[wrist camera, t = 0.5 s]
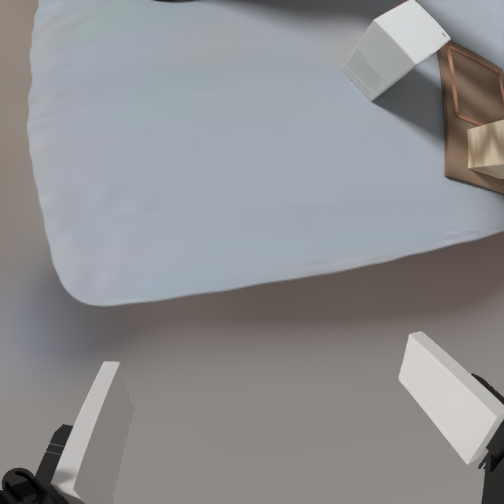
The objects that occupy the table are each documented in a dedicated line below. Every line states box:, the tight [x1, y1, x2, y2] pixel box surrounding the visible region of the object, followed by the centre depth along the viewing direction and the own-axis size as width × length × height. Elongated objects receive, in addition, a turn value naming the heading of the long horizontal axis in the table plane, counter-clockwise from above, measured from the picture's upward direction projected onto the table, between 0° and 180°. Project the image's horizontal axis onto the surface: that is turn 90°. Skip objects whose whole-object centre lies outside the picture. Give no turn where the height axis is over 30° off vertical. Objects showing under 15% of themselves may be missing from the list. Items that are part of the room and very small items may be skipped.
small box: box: [340, 0, 451, 101], centre depth 27 cm, size 8×6×13 cm
